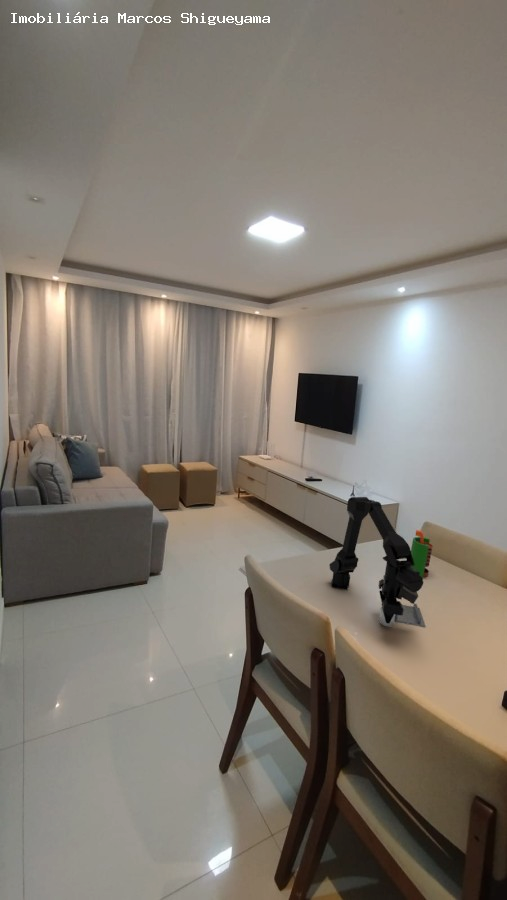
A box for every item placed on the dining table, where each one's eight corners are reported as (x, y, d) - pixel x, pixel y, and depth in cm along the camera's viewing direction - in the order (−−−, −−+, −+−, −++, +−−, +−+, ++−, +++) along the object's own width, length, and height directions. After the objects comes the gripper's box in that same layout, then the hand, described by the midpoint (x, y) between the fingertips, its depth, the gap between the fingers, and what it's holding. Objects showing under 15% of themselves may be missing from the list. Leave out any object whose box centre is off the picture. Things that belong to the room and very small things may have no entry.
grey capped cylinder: (379, 624, 139) (381, 610, 138) (378, 616, 144) (380, 602, 143) (394, 627, 138) (397, 613, 137) (392, 619, 143) (395, 605, 142)
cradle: (389, 620, 145) (390, 614, 145) (386, 603, 157) (387, 597, 157) (425, 627, 143) (426, 620, 143) (419, 609, 155) (420, 603, 154)
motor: (430, 580, 180) (437, 537, 176) (409, 576, 182) (416, 534, 178) (425, 570, 190) (432, 529, 186) (405, 567, 191) (412, 526, 188)
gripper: (423, 595, 128) (415, 639, 130) (413, 569, 146) (407, 609, 148) (386, 588, 130) (379, 632, 133) (381, 563, 148) (375, 603, 151)
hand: (386, 618), depth 141 cm, fingers closed on grey capped cylinder, 5 cm apart
